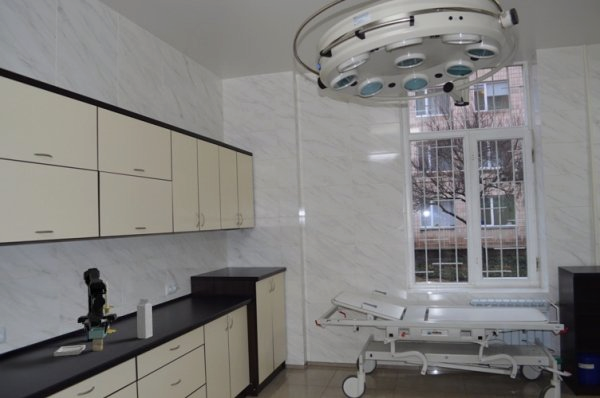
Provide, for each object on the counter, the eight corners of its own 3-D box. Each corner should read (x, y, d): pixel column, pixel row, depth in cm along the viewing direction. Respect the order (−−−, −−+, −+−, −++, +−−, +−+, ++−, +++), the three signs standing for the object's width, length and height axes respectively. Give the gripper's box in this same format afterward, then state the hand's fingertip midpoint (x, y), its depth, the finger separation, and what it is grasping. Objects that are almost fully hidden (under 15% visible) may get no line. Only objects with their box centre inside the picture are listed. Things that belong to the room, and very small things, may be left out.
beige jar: (95, 349, 245) (94, 337, 245) (103, 348, 246) (102, 337, 246) (93, 351, 241) (92, 339, 241) (101, 350, 242) (100, 339, 242)
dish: (61, 350, 246) (61, 346, 246) (85, 348, 248) (85, 344, 248) (53, 356, 234) (53, 352, 234) (78, 354, 236) (78, 350, 236)
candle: (119, 330, 287) (118, 278, 288) (107, 334, 277) (106, 280, 279) (107, 329, 290) (106, 278, 292) (94, 333, 281) (93, 280, 283)
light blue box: (92, 335, 247) (92, 328, 247) (106, 334, 248) (106, 327, 248) (88, 338, 239) (88, 331, 240) (103, 337, 241) (103, 330, 241)
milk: (144, 335, 271) (143, 298, 272) (152, 336, 269) (151, 298, 270) (137, 338, 265) (136, 300, 266) (145, 338, 263) (144, 300, 264)
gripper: (73, 309, 235) (74, 339, 234) (112, 306, 238) (112, 336, 237) (80, 305, 246) (80, 334, 245) (116, 302, 249) (117, 331, 248)
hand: (97, 334), depth 244 cm, fingers closed on light blue box, 7 cm apart
